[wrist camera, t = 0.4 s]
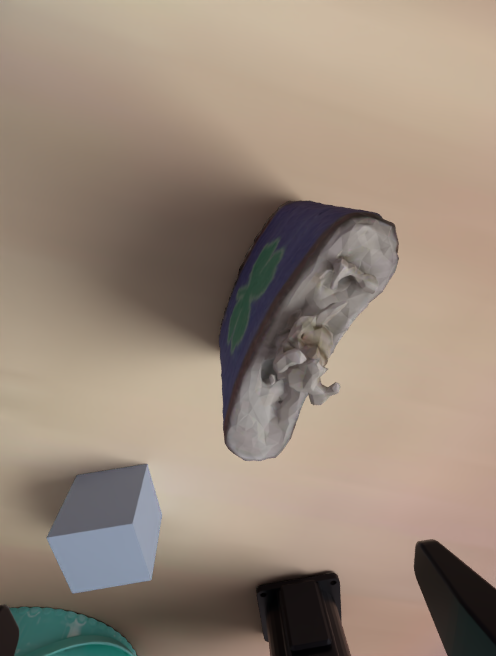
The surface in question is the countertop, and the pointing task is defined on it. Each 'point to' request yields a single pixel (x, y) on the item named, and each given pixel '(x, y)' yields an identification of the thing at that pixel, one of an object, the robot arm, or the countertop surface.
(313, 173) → the countertop surface
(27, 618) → the basket
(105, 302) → the countertop surface
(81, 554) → the cube
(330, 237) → the flask
